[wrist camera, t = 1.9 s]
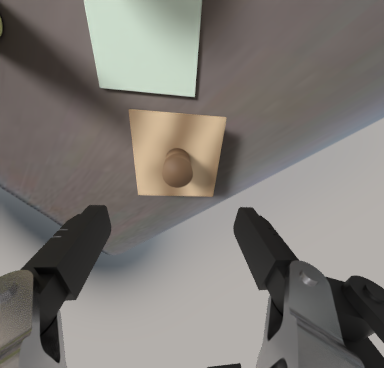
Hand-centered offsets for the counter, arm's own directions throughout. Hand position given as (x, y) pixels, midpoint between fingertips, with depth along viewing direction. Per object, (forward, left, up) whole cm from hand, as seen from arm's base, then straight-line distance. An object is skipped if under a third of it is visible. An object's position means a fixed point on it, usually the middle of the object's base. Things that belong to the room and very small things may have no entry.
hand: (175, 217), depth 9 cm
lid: (0, 0, -12) cm, 12 cm away
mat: (+4, -13, -16) cm, 21 cm away
